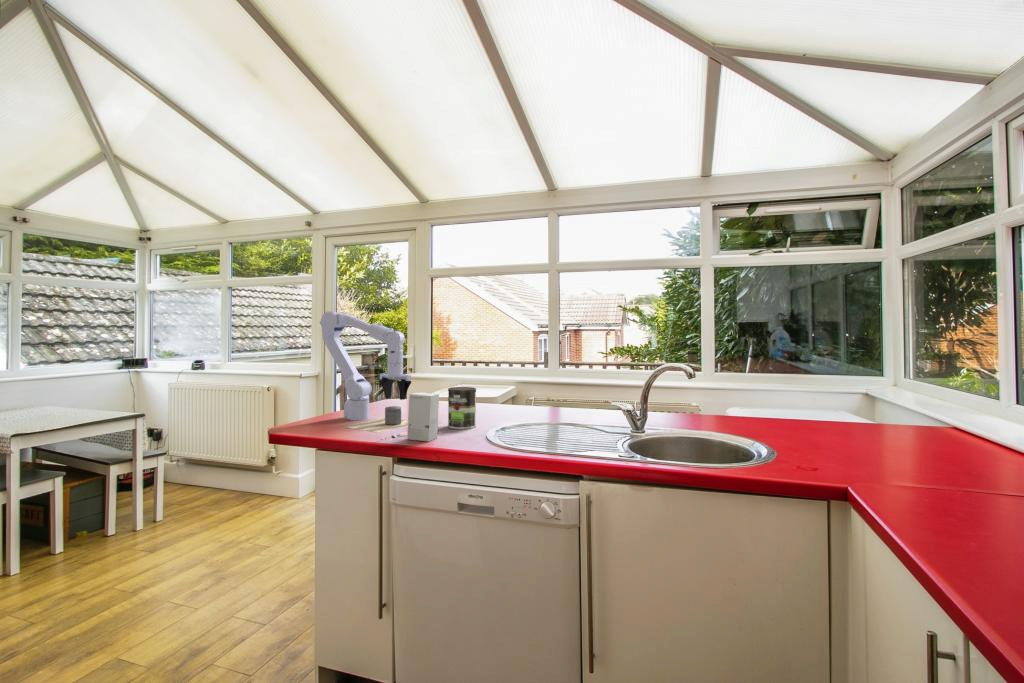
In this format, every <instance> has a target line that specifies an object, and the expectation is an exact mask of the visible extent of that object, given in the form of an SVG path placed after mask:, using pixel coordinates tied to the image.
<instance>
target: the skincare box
mask: <svg viewBox="0 0 1024 683" xmlns="http://www.w3.org/2000/svg"><path fill="white" fill-rule="evenodd" d="M408 396H409V397H408V399H409V400H408V418H407V420H408V425H407V440H408V441H409V440H410V441H420V442H432V441H434V440H437V439H438V430H439V428H438V427H439V426H438V425H439V405H440V402H439V401H440V400H439V399H440V394H437V393H430V392H429V393H428V392H413V393H409V395H408Z"/></svg>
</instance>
